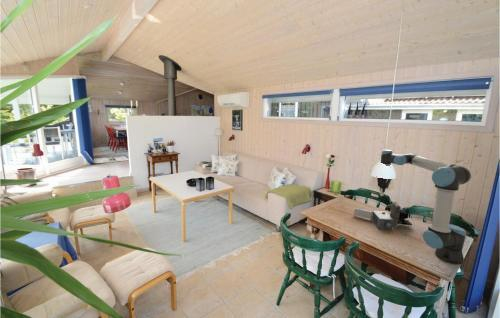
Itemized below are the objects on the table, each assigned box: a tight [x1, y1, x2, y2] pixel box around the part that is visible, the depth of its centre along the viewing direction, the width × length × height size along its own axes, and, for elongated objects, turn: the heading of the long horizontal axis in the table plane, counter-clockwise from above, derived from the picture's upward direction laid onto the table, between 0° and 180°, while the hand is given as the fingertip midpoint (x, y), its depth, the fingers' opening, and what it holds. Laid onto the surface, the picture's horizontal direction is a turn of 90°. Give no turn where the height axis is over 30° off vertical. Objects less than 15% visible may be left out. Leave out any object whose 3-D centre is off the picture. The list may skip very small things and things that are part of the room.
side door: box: [353, 207, 373, 221], centre depth 219 cm, size 15×2×8 cm, turn 57°
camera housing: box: [371, 210, 393, 230], centre depth 206 cm, size 19×11×10 cm, turn 171°
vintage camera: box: [389, 201, 413, 228], centre depth 205 cm, size 10×16×20 cm, turn 78°
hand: (381, 195), depth 201 cm, fingers closed
